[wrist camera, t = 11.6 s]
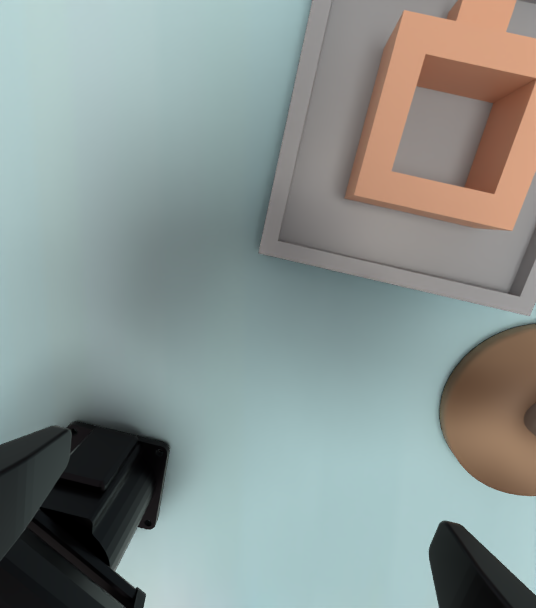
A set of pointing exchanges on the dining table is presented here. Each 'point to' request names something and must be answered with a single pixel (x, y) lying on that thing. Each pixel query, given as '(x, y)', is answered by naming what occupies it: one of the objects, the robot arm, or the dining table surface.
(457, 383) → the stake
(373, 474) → the dining table surface
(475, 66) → the ring
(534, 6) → the tray
